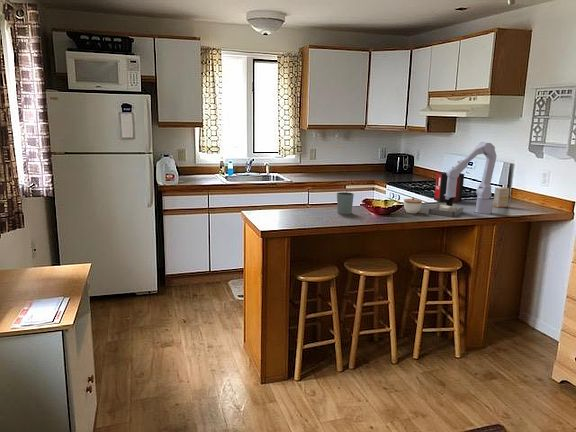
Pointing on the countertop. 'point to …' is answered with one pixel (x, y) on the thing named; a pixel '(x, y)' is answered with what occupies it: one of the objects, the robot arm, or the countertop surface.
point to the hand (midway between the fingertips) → (449, 209)
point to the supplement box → (501, 197)
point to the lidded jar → (412, 205)
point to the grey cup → (344, 202)
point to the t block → (447, 208)
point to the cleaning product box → (442, 185)
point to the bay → (436, 211)
